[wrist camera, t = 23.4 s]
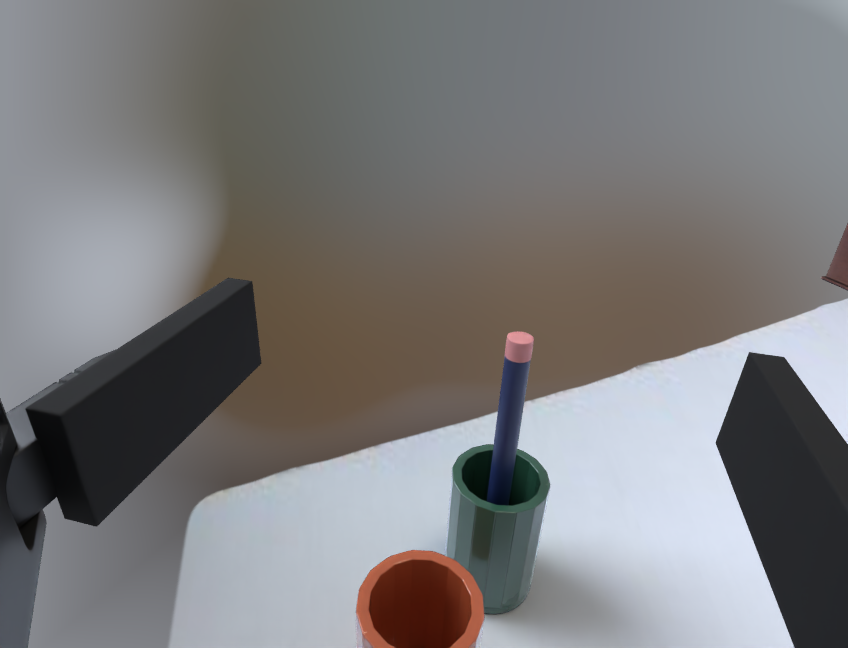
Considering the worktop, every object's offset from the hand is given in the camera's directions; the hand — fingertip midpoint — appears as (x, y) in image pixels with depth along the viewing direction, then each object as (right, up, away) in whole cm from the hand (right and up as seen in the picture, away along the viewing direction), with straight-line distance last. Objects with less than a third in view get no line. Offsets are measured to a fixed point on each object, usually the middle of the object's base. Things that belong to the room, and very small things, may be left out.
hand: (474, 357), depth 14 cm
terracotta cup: (-2, -20, +15) cm, 25 cm away
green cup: (+3, -17, +23) cm, 28 cm away
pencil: (+3, -16, +23) cm, 28 cm away
